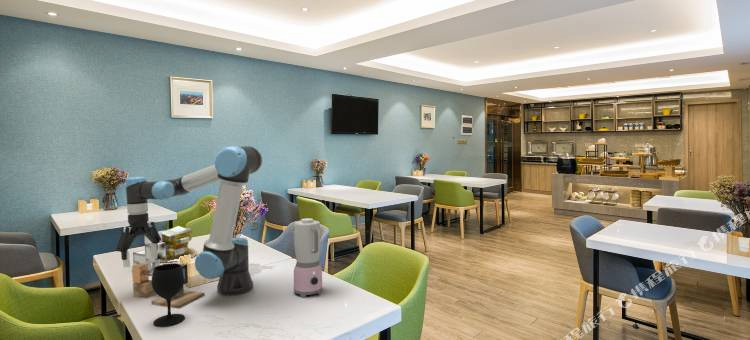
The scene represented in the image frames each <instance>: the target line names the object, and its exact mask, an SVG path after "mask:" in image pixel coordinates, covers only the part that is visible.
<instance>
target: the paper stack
mask: <svg viewBox="0 0 750 340" xmlns="http://www.w3.org/2000/svg"><path fill="white" fill-rule="evenodd" d="M192 231H193V230H192V229H191V227H188V228H187V227H184V226H180V225H177V226H175V227H171V228H167V229H165V230H160V231H158V232H161V233H162V242H164V243H165V247H166V257H165V258H162V259H160V263H167V262H166V261H170V260H174V259H179V257H180V256H184V255H189V254H190V255H191V257H193V256H195V255H196V256H197V255H198V251H197V250H196V249H195V248H194V247H193V248H192V247H190V246H189V243H190V241H192ZM196 256H195V257H196ZM193 258H194V257H193Z"/></svg>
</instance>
